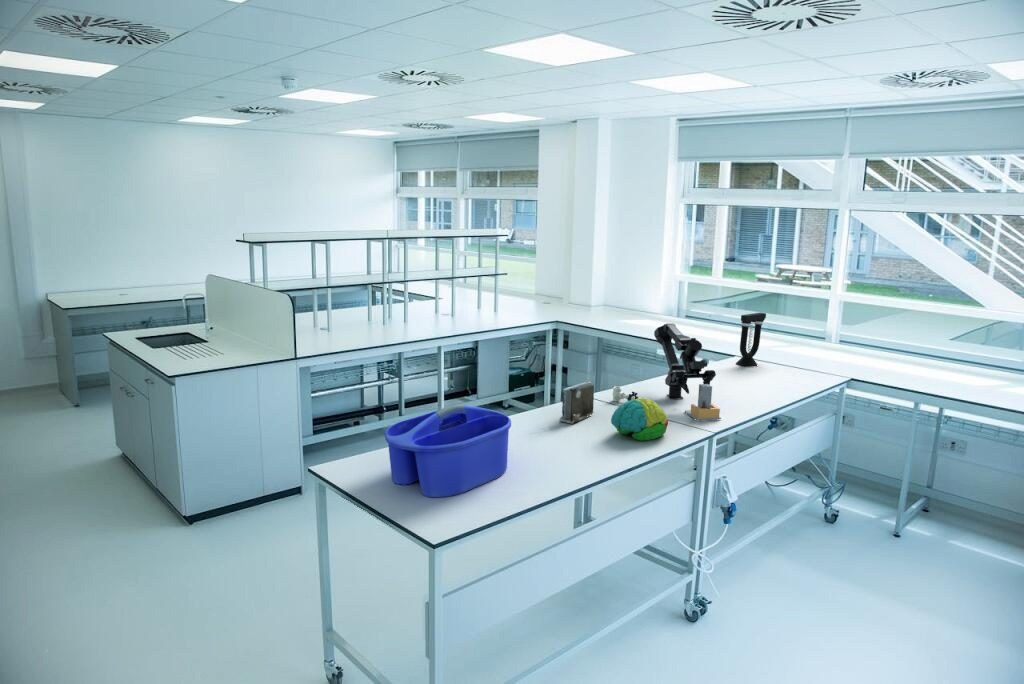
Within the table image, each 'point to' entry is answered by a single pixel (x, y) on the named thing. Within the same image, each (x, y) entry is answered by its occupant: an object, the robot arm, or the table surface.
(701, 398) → the rectangular block
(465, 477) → the caddy
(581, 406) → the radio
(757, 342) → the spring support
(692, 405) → the keeper bracket
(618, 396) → the valve
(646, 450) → the table surface
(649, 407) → the brain model
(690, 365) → the robot arm
